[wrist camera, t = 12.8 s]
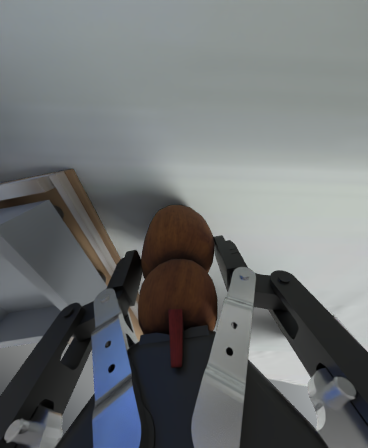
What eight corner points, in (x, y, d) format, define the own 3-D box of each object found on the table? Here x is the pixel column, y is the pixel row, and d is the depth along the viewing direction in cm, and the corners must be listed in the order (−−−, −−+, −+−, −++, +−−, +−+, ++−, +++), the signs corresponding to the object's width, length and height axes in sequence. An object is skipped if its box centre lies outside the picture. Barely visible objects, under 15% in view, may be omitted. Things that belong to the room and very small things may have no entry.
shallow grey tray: (63, 192, 13) (-7, 228, 8) (117, 280, 19) (96, 333, 14) (-61, 216, 14) (-202, 264, 9) (29, 295, 20) (-22, 351, 15)
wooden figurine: (190, 251, 19) (221, 485, 6) (144, 240, 18) (70, 504, 5) (211, 204, 16) (361, 480, 3) (158, 187, 15) (59, 521, 2)
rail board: (73, 168, 14) (49, 176, 11) (159, 333, 29) (158, 352, 27) (-69, 196, 14) (-124, 210, 12) (90, 343, 30) (82, 362, 27)
